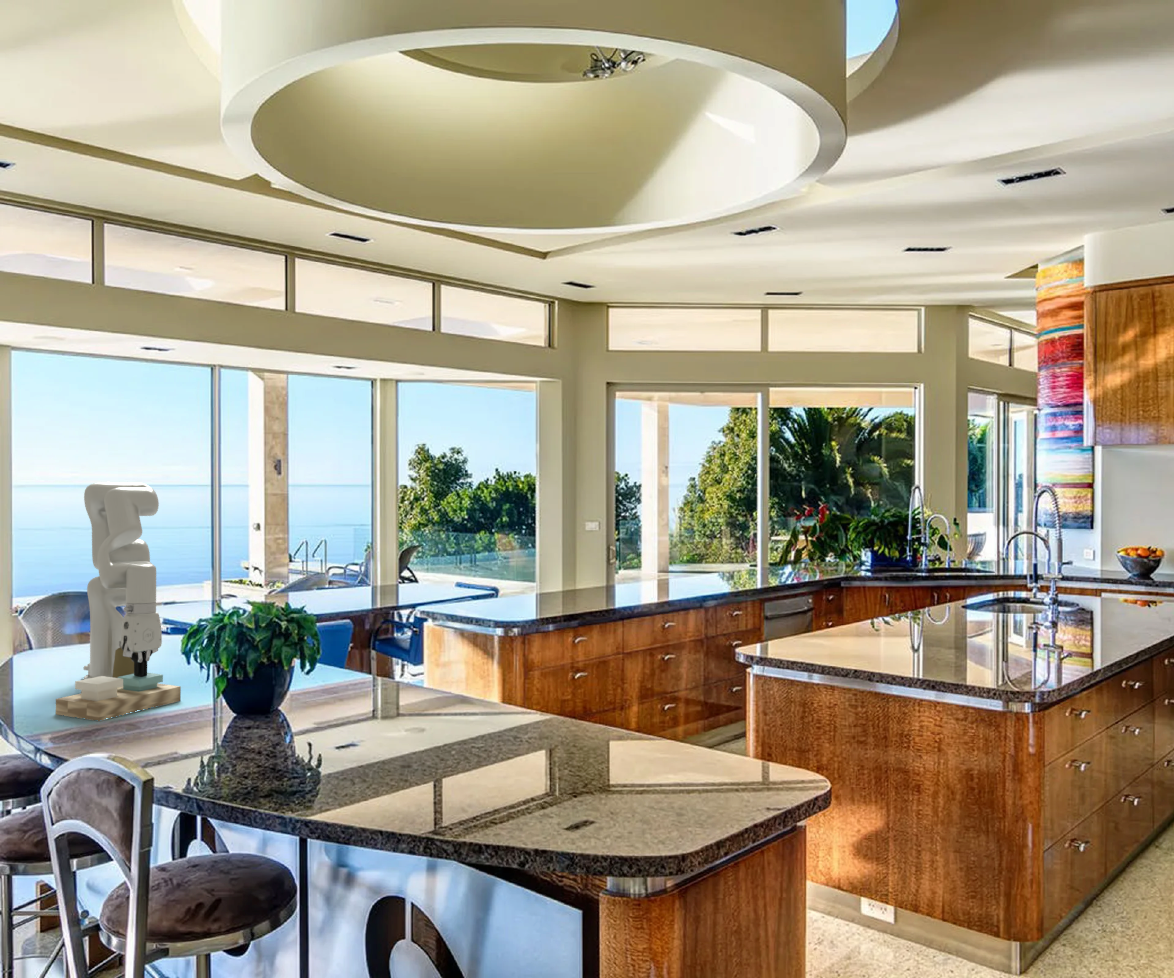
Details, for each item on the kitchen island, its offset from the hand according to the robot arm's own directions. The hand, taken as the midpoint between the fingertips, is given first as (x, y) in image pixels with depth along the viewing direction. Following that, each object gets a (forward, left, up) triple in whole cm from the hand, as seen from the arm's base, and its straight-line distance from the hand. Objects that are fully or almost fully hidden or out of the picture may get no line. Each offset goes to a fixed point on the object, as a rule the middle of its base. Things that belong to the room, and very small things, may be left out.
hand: (140, 675), depth 269 cm
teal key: (0, 0, -5) cm, 5 cm away
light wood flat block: (0, -6, -7) cm, 10 cm away
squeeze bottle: (-16, +10, -8) cm, 20 cm away
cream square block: (0, -13, -4) cm, 13 cm away
